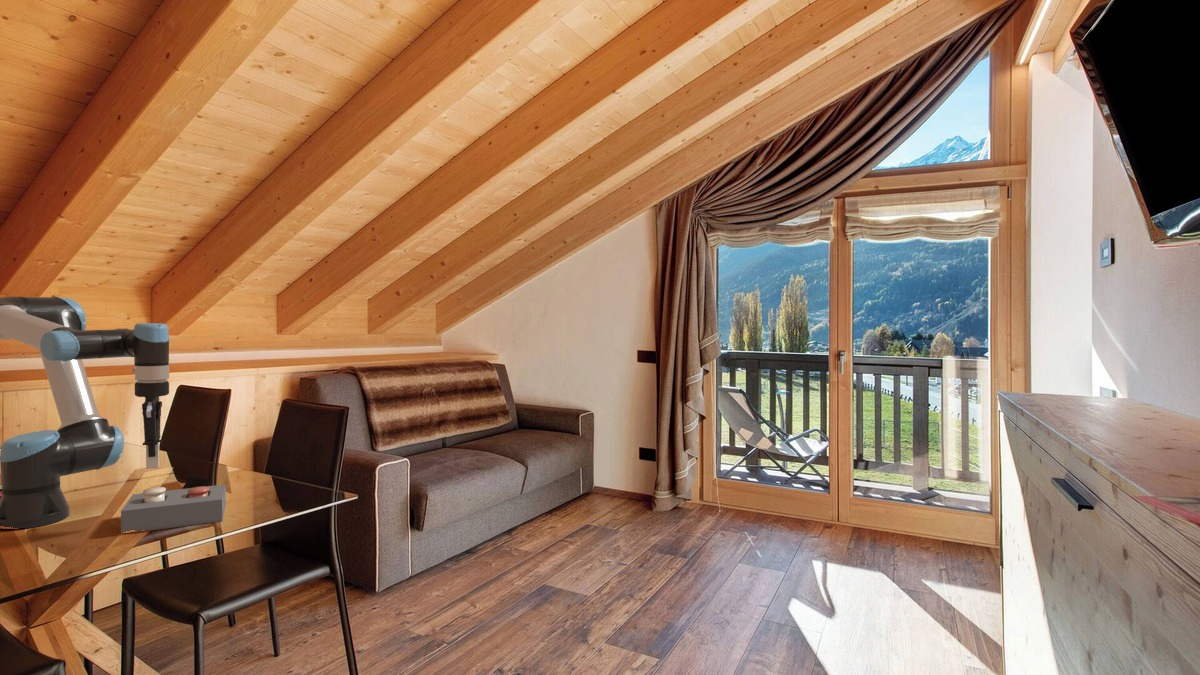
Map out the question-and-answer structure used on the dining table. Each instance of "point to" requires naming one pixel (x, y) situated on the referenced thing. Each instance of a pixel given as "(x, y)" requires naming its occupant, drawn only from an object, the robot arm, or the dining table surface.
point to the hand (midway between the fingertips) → (152, 467)
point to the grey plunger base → (173, 510)
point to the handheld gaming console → (196, 482)
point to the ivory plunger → (154, 494)
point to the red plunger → (198, 492)
